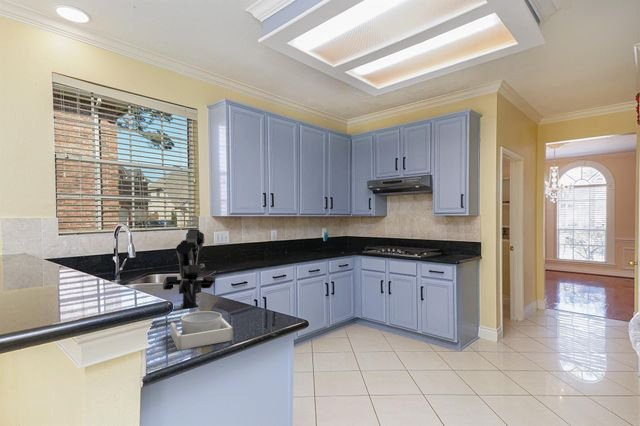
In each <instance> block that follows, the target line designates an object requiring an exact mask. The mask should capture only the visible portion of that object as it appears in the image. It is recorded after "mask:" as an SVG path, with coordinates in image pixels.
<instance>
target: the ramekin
mask: <svg viewBox="0 0 640 426" xmlns="http://www.w3.org/2000/svg"><path fill="white" fill-rule="evenodd" d="M222 318H223V315H222V313H220V312H217V311H210V310H202V311H192V312H189V313H186V314H184V315H181V317H180V323H181V332H182V333H181V335H187V334H193V333H199V332H205V331H212V330H218V329H220V323H221V319H222Z"/></svg>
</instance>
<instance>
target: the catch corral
mask: <svg viewBox="0 0 640 426" xmlns="http://www.w3.org/2000/svg"><path fill="white" fill-rule="evenodd" d="M170 337H171V339H172V341H173V343H174V345H175V347H176V349H177V351H182V350H187V349H191V348H198V347H203V346H208V345H215V344H218V343H219V344H221V343H225V342H230V341H233V340H234V328H233V326H231V324H229V322H228V321H227V320H225V319H224V317H222V319H221V323H220V329H218V330H212V331H205V332H199V333H193V334H187V335H183V334H181V333H180V331H179V329H178V328H177V326H176V324H175V322H170Z"/></svg>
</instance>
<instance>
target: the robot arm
mask: <svg viewBox="0 0 640 426" xmlns="http://www.w3.org/2000/svg"><path fill="white" fill-rule="evenodd" d="M204 244H205V234H204V233H203V232H201V231H200V229H198V228H190V229H187V233H186V234H185V239H183V240H181V241H180V243H179V244H177V246H176V247H175V248H176V249H175V251H176V254H177V258H178V262H179V263H178V264H179V265H178V266H179V276H180V279H178V276H177V275H174V276H173V275H171V276H170V275H168V276H166V277H165V278H164V280H163V283H162V290H165V291H166V290H170V291H171V290H173V288H174V286H178V293H179V295H181V294H182V303H181V304H180V306H181V308H182V309H189V308H190V309H191V308H197V307H199V305H198V304H197V294H200V293H202V289H210V288H211V287H212V286H213V285H214V283H215V277H214V276H213V275H203V277H202V278H199V276H200V275H199V274H202V273H204V272H205V271H206V266H205V263H199V264H198V261H199V260H198V259H199V253H200V252H199V251H201V250H202V249H203V247H204V246H203V245H204Z"/></svg>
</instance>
